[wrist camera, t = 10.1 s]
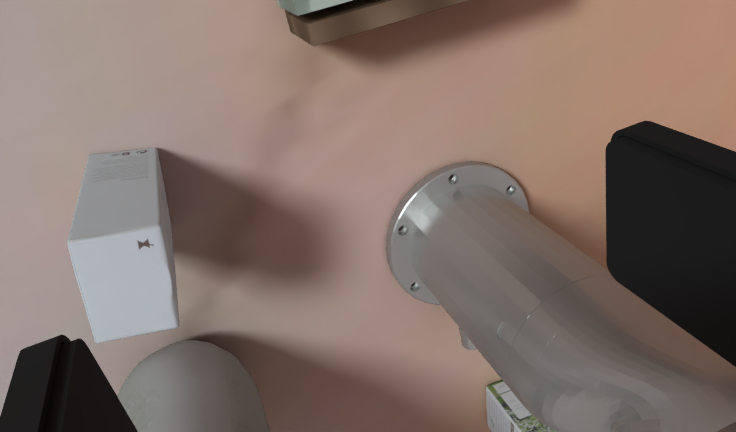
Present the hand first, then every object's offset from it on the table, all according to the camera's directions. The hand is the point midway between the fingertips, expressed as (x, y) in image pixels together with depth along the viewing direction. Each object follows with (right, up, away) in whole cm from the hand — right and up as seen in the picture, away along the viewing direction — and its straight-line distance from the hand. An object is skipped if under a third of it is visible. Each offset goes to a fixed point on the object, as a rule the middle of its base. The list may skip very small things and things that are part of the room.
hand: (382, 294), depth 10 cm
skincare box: (-16, +3, +28) cm, 33 cm away
